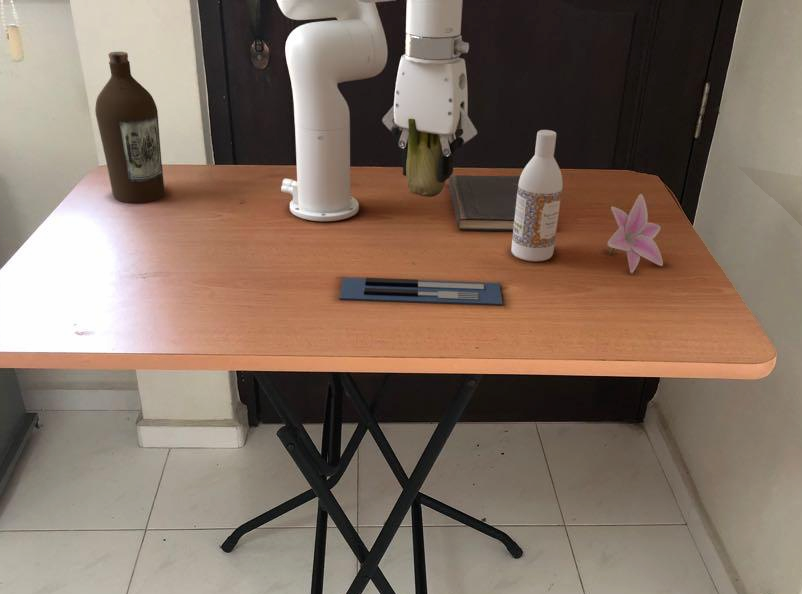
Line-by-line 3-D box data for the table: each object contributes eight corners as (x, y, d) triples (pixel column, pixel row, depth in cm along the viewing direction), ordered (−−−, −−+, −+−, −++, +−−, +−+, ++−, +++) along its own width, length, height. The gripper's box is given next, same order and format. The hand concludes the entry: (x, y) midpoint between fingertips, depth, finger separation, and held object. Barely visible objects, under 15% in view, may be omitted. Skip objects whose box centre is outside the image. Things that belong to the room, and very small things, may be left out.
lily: (588, 277, 133) (623, 237, 126) (576, 225, 140) (609, 183, 132) (650, 294, 137) (687, 255, 130) (635, 242, 144) (670, 203, 136)
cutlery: (363, 296, 123) (363, 292, 122) (365, 281, 127) (365, 277, 127) (485, 300, 123) (485, 296, 122) (483, 285, 127) (483, 281, 126)
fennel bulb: (404, 198, 125) (406, 116, 118) (409, 187, 129) (411, 107, 122) (442, 201, 124) (447, 119, 118) (446, 190, 128) (450, 110, 122)
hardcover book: (528, 187, 165) (530, 176, 164) (548, 232, 146) (549, 219, 145) (448, 186, 165) (449, 174, 163) (457, 230, 146) (458, 218, 144)
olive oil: (99, 193, 156) (74, 51, 142) (149, 181, 163) (130, 44, 149) (128, 208, 150) (104, 62, 136) (178, 195, 156) (161, 54, 143)
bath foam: (529, 266, 134) (545, 141, 123) (502, 251, 139) (514, 129, 127) (561, 257, 137) (579, 134, 126) (533, 242, 142) (548, 123, 131)
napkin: (339, 299, 122) (339, 297, 122) (343, 279, 128) (343, 277, 128) (502, 305, 122) (502, 303, 122) (498, 284, 128) (499, 283, 128)
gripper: (499, 50, 115) (488, 179, 125) (390, 36, 121) (387, 160, 131) (479, 59, 109) (469, 193, 119) (365, 45, 115) (364, 174, 125)
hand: (426, 175), depth 125 cm, fingers closed on fennel bulb, 5 cm apart
